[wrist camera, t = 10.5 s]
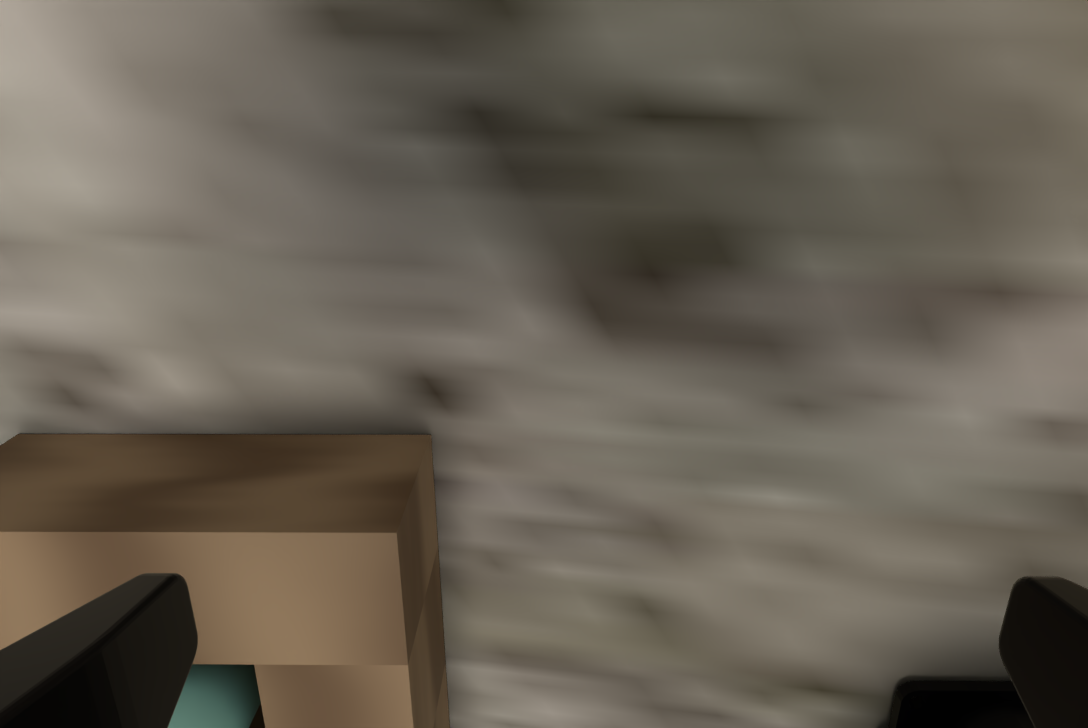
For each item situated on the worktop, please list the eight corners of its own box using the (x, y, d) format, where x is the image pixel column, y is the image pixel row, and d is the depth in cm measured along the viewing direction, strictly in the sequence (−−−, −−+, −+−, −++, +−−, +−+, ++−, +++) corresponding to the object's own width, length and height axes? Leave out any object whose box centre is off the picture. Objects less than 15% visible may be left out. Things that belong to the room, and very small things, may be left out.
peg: (296, 563, 23) (146, 843, 14) (307, 641, 24) (174, 943, 15) (200, 562, 23) (-6, 841, 14) (215, 640, 24) (32, 942, 15)
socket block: (430, 434, 21) (396, 532, 16) (451, 748, 25) (428, 897, 21) (18, 433, 21) (-133, 531, 17) (106, 746, 25) (5, 894, 21)
